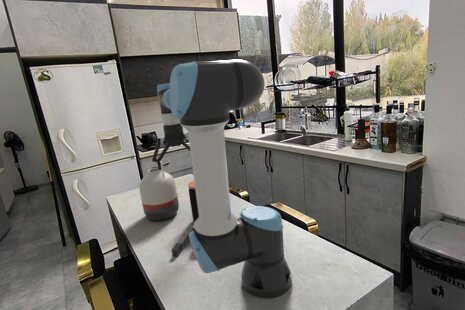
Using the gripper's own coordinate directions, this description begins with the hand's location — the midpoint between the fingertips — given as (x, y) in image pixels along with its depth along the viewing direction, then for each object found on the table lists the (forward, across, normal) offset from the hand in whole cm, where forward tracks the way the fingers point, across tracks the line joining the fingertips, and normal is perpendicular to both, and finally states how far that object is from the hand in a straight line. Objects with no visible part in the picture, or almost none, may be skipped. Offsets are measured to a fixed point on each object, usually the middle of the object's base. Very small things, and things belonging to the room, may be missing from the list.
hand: (180, 174), depth 117 cm
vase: (+25, +10, -19) cm, 33 cm away
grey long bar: (+25, +1, +11) cm, 27 cm away
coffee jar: (+25, -8, -4) cm, 27 cm away
